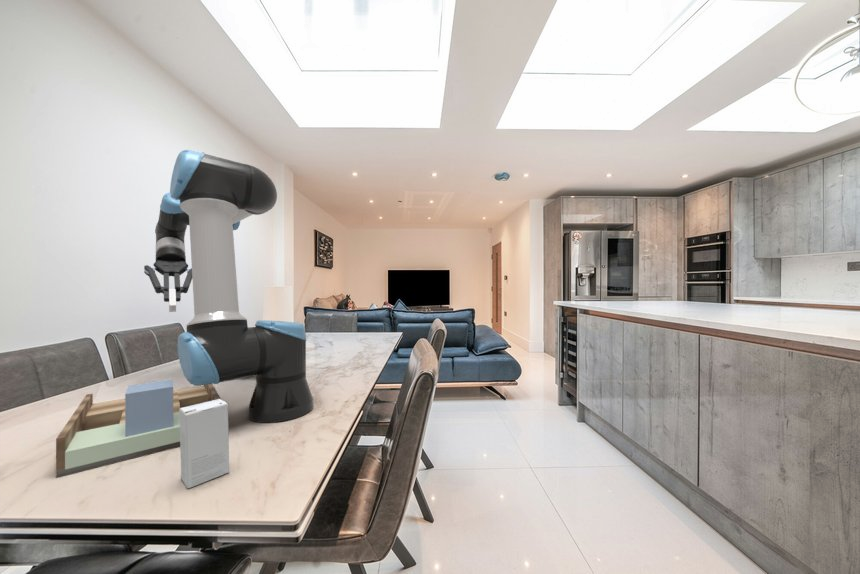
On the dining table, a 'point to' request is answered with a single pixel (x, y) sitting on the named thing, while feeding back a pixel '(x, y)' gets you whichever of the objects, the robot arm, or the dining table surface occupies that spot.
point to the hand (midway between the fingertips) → (172, 308)
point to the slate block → (148, 407)
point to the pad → (116, 443)
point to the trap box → (114, 414)
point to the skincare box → (204, 442)
